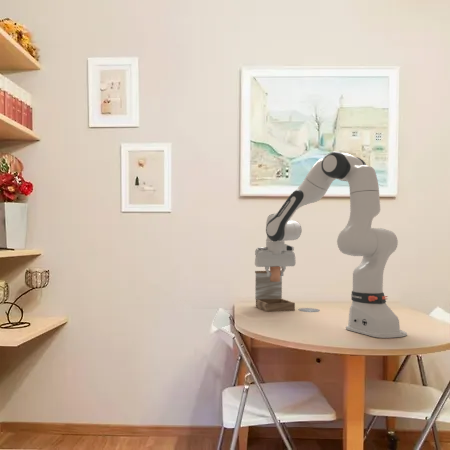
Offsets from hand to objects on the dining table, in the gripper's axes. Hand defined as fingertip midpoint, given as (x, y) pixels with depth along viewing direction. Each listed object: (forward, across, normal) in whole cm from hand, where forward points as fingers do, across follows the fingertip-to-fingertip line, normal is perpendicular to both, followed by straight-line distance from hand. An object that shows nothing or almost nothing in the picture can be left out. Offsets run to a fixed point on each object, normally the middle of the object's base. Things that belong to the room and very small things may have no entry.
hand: (275, 276), depth 198 cm
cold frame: (+16, 0, +1) cm, 16 cm away
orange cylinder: (+2, 0, 0) cm, 2 cm away
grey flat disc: (+16, +14, -7) cm, 23 cm away
